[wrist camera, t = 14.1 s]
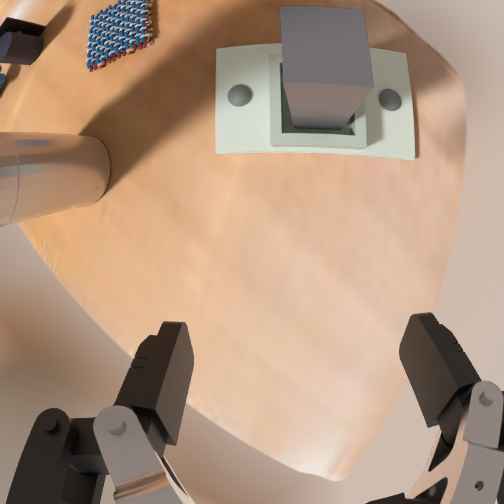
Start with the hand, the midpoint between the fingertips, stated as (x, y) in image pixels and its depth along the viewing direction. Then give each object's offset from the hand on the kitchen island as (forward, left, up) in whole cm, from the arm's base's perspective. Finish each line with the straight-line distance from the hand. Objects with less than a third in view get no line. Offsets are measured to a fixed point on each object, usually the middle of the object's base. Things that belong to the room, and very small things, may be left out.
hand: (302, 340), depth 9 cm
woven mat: (-27, +23, -21) cm, 41 cm away
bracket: (-1, +14, -20) cm, 25 cm away
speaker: (-48, +25, -21) cm, 58 cm away
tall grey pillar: (-1, +13, -19) cm, 23 cm away
